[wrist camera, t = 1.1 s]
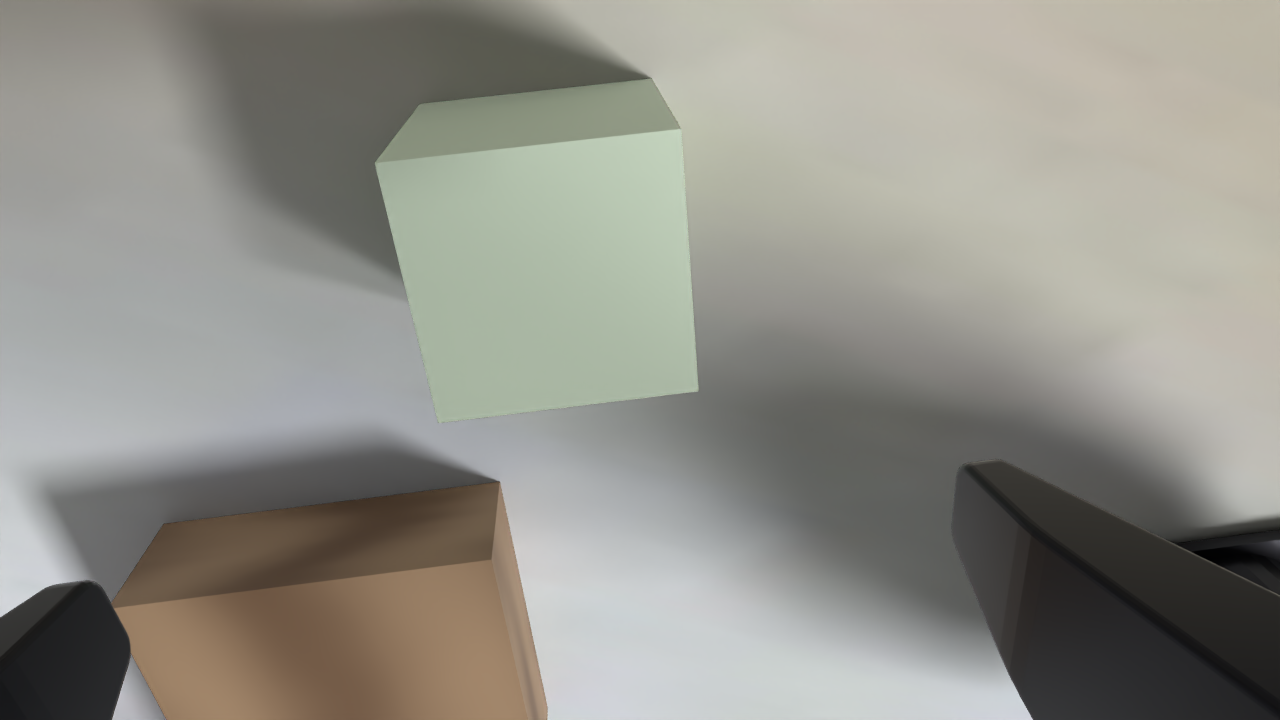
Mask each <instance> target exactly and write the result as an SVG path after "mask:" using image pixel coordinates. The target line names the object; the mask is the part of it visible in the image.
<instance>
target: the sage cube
mask: <svg viewBox="0 0 1280 720" xmlns="http://www.w3.org/2000/svg"><path fill="white" fill-rule="evenodd" d="M375 167H376V171H377V175H378V179H379V183H380V187H381V192H382V196H383V200H384V204H385V208H386V212H387V216H388V220H389V224H390V228H391V232H392V237H393V241H394V245H395V249H396V253H397V257H398V261H399V265H400V269H401V273H402V277H403V282H404V286H405V290H406V294H407V298H408V302H409V306H410V310H411V314H412V318H413V322H414V327H415V331H416V335H417V339H418V343H419V347H420V351H421V355H422V359H423V363H424V367H425V372H426V376H427V380H428V384H429V388H430V392H431V396H432V400H433V404H434V408H435V412H436V417H437V421H438V423H444V422H453V421H461V420H469V419H477V418H485V417H493V416H502V415H510V414H518V413H526V412H534V411H543V410H551V409H559V408H567V407H575V406H583V405H592V404H600V403H608V402H616V401H624V400H633V399H641V398H649V397H657V396H665V395H673V394H682V393H690V392H698V391H699V390H698V374H697V359H696V344H695V329H694V314H693V299H692V284H691V268H690V253H689V238H688V223H687V208H686V193H685V177H684V162H683V147H682V132H681V128H680V126H679V124H678V122H677V121H676V119H675V117H674V116H673V114H672V112H671V110H670V109H669V107H668V105H667V104H666V102H665V100H664V98H663V97H662V95H661V93H660V92H659V90H658V88H657V86H656V85H655V83H654V81H653V80H652V78H651V79H642V80H633V81H624V82H615V83H605V84H596V85H587V86H578V87H569V88H560V89H551V90H542V91H532V92H523V93H514V94H505V95H496V96H487V97H478V98H469V99H460V100H450V101H441V102H432V103H423V104H419V106H418V107H417V108H416V110H415V111H414V112H413V113H412V115H411V116H410V117H409V119H408V120H407V121H406V123H405V124H404V125H403V127H402V128H401V129H400V130H399V132H398V133H397V134H396V136H395V137H394V138H393V140H392V141H391V142H390V144H389V145H388V146H387V147H386V149H385V150H384V151H383V153H382V154H381V155H380V157H379V158H378V159H377V161H376V162H375Z"/></svg>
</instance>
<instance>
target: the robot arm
mask: <svg viewBox="0 0 1280 720" xmlns="http://www.w3.org/2000/svg"><path fill="white" fill-rule="evenodd" d="M952 536H953V541H954V544H955V547H956V550H957V552H958V555H959V557H960V560H961V562H962V565H963V567H964V569H965V572H966V574H967V577H968V579H969V581H970V584H971V586H972V589H973V591H974V593H975V596H976V598H977V601H978V603H979V605H980V608H981V610H982V613H983V615H984V617H985V620H986V622H987V625H988V627H989V630H990V632H991V634H992V637H993V639H994V642H995V644H996V646H997V649H998V651H999V654H1000V656H1001V658H1002V660H1003V663H1004V665H1005V667H1006V669H1007V672H1008V674H1009V676H1010V678H1011V680H1012V682H1013V684H1014V685H1015V687H1016V689H1017V691H1018V693H1019V695H1020V697H1021V699H1022V701H1023V702H1024V704H1025V706H1026V708H1027V710H1028V711H1029V713H1030V715H1031V717H1032V719H1033V720H1280V530H1275V531H1268V532H1260V533H1252V534H1245V535H1237V536H1230V537H1222V538H1215V539H1207V540H1199V541H1192V542H1184V543H1177V544H1173V543H1171V542H1169V541H1167V540H1165V539H1163V538H1161V537H1159V536H1157V535H1155V534H1153V533H1151V532H1149V531H1147V530H1145V529H1143V528H1140V527H1138V526H1136V525H1134V524H1132V523H1130V522H1128V521H1126V520H1124V519H1122V518H1120V517H1118V516H1116V515H1114V514H1112V513H1110V512H1108V511H1106V510H1104V509H1102V508H1100V507H1097V506H1095V505H1093V504H1091V503H1089V502H1087V501H1085V500H1083V499H1081V498H1079V497H1077V496H1075V495H1073V494H1071V493H1069V492H1067V491H1065V490H1063V489H1061V488H1059V487H1056V486H1054V485H1052V484H1050V483H1048V482H1046V481H1044V480H1042V479H1040V478H1038V477H1036V476H1034V475H1032V474H1030V473H1028V472H1026V471H1024V470H1022V469H1020V468H1018V467H1016V466H1013V465H1011V464H1009V463H1007V462H1005V461H1003V460H999V459H992V460H984V461H977V462H970V463H965V464H963V465H962V466H961V467H960V468H959V470H958V472H957V476H956V484H955V494H954V504H953V514H952ZM130 654H131V644H130V640H129V636H128V634H127V632H126V630H125V628H124V626H123V624H122V622H121V621H120V619H119V617H118V615H117V613H116V611H115V610H114V608H113V606H112V604H111V602H110V600H109V598H108V597H107V595H106V593H105V591H104V590H103V588H102V587H101V586H100V585H99V584H97V583H96V582H94V581H89V580H85V581H77V582H69V583H62V584H56V585H52V586H49V587H47V588H45V589H43V590H41V591H40V592H38V593H37V594H35V595H34V596H32V597H31V598H29V599H28V600H26V601H25V602H23V603H22V604H20V605H19V606H17V607H16V608H14V609H13V610H11V611H9V612H8V613H6V614H5V615H3V616H2V617H0V720H112V717H113V714H114V711H115V707H116V704H117V701H118V698H119V694H120V691H121V688H122V684H123V681H124V678H125V675H126V671H127V668H128V665H129V661H130Z"/></svg>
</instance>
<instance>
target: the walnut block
mask: <svg viewBox="0 0 1280 720" xmlns="http://www.w3.org/2000/svg"><path fill="white" fill-rule="evenodd" d="M111 604H112V606H113V608H114V610H115V611H116V613H117V615H118V617H119V619H120V621H121V622H122V624H123V626H124V628H125V630H126V632H127V634H128V636H129V640H130V644H131V654H132V656H133V658H134V660H135V662H136V663H137V665H138V667H139V669H140V671H141V673H142V675H143V677H144V678H145V680H146V682H147V684H148V686H149V688H150V690H151V692H152V693H153V695H154V697H155V699H156V701H157V703H158V705H159V707H160V708H161V710H162V712H163V714H164V716H165V718H166V720H547V703H546V698H545V693H544V689H543V684H542V679H541V674H540V670H539V665H538V660H537V655H536V651H535V646H534V641H533V636H532V632H531V627H530V622H529V617H528V613H527V608H526V603H525V598H524V594H523V589H522V584H521V580H520V575H519V570H518V565H517V561H516V556H515V551H514V546H513V542H512V537H511V532H510V527H509V523H508V518H507V513H506V508H505V504H504V499H503V494H502V489H501V485H500V482H493V483H485V484H477V485H469V486H461V487H453V488H446V489H438V490H430V491H422V492H414V493H406V494H398V495H390V496H382V497H374V498H366V499H358V500H350V501H342V502H334V503H326V504H318V505H310V506H302V507H294V508H286V509H278V510H270V511H262V512H254V513H246V514H238V515H230V516H222V517H215V518H207V519H199V520H191V521H183V522H175V523H167V524H163V526H162V527H161V529H160V530H159V532H158V533H157V535H156V536H155V538H154V539H153V541H152V542H151V544H150V545H149V547H148V548H147V550H146V551H145V553H144V554H143V556H142V557H141V559H140V560H139V562H138V563H137V565H136V567H135V568H134V570H133V571H132V573H131V574H130V576H129V577H128V579H127V580H126V582H125V583H124V585H123V586H122V588H121V589H120V591H119V592H118V594H117V595H116V597H115V598H114V600H113V601H112V603H111Z"/></svg>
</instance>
